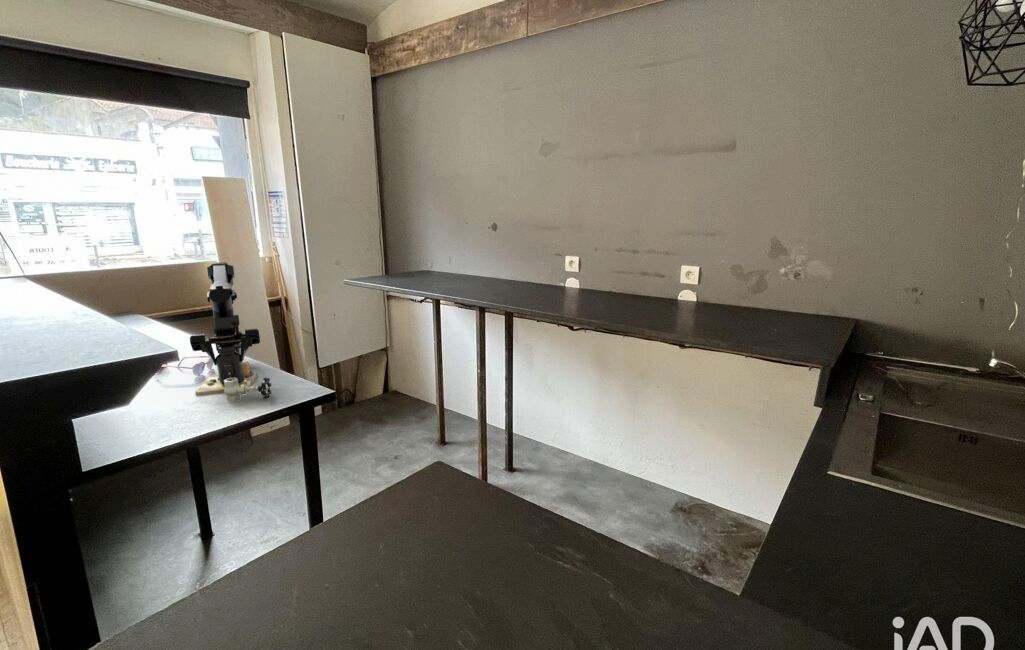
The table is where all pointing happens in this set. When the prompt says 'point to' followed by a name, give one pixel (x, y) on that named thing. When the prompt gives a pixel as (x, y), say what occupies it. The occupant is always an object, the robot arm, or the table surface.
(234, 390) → the valve
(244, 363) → the orange rectangular block
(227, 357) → the supplement bottle
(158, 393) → the table surface
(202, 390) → the panel
